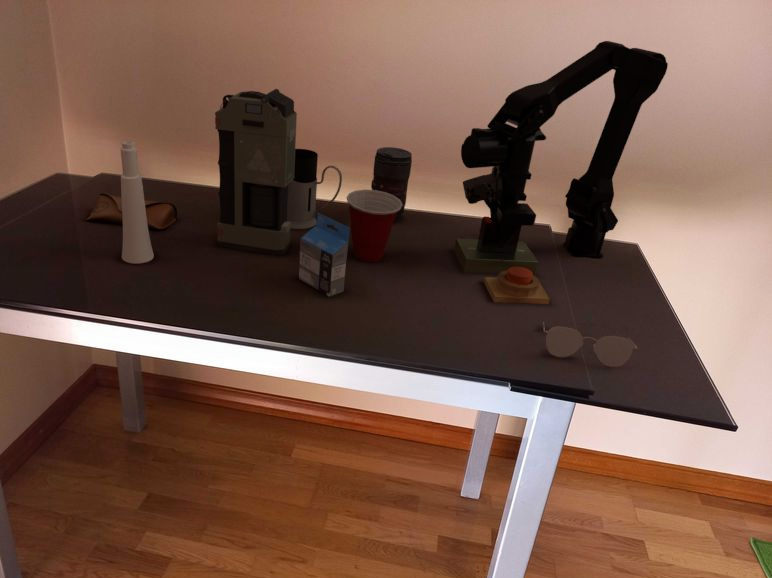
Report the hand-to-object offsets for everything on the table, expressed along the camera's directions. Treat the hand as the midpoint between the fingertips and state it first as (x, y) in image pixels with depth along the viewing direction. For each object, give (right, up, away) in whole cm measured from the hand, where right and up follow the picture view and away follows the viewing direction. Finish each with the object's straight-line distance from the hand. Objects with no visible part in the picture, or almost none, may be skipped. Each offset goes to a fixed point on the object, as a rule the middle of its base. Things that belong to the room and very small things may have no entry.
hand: (497, 242), depth 137 cm
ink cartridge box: (-35, -10, -10) cm, 38 cm away
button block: (+1, -11, -9) cm, 14 cm away
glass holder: (-37, +6, +16) cm, 41 cm away
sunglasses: (+7, -21, -24) cm, 33 cm away
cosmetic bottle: (-70, -4, -3) cm, 70 cm away
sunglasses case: (-75, +7, +13) cm, 77 cm away
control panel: (0, -4, +2) cm, 4 cm away
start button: (+1, -8, -10) cm, 13 cm away
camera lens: (-19, +9, +21) cm, 30 cm away
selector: (0, -1, +1) cm, 1 cm away
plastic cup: (-25, -3, +2) cm, 25 cm away
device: (-48, 0, +4) cm, 48 cm away
